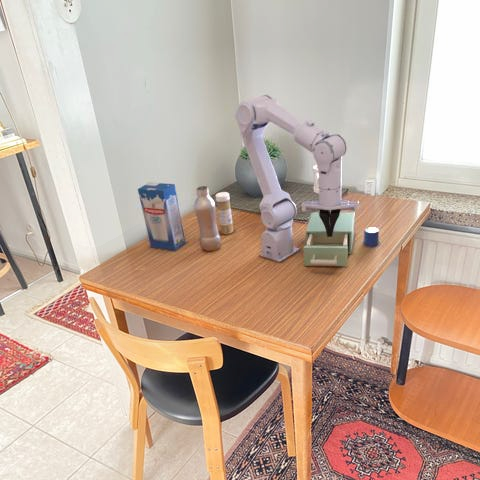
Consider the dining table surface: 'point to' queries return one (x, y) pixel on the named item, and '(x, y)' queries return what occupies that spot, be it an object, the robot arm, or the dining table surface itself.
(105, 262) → the dining table surface
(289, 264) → the dining table surface
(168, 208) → the milk carton
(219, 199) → the sprinkles bottle
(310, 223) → the cabinet
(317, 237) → the drawer
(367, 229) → the can
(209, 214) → the plastic bottle
